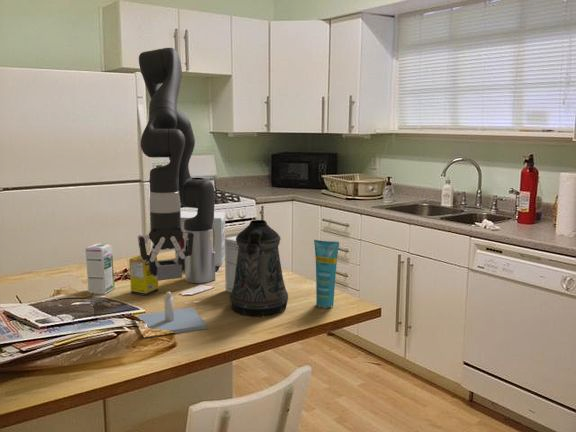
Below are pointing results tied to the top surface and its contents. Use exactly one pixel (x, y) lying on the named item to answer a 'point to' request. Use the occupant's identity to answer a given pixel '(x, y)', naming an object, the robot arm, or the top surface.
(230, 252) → the supplement box
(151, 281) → the supplement box
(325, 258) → the tube
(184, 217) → the supplement box
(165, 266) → the tissue dispenser
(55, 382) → the top surface
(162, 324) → the keeper plate
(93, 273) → the syrup box
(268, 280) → the dark ornate coffee pot
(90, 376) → the top surface
